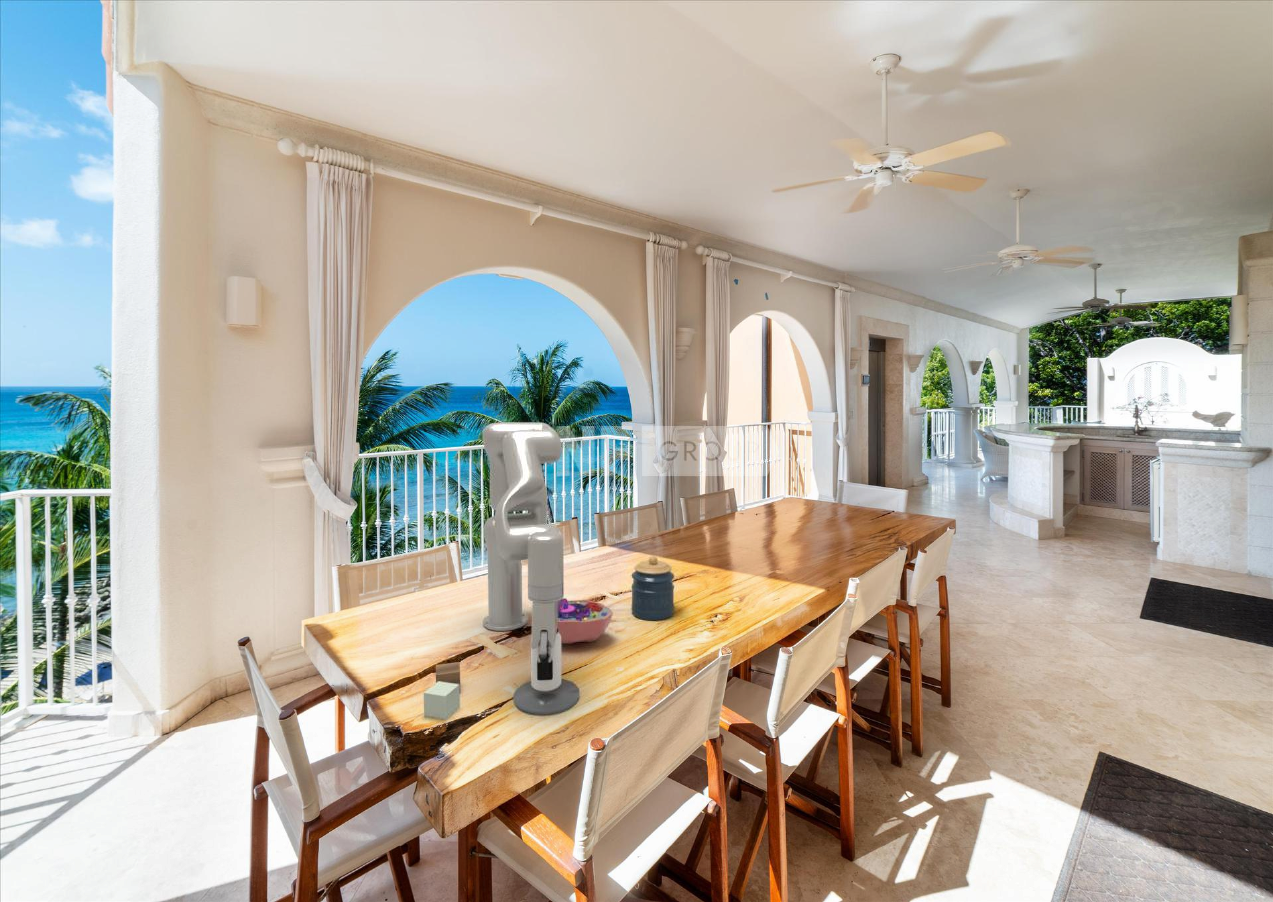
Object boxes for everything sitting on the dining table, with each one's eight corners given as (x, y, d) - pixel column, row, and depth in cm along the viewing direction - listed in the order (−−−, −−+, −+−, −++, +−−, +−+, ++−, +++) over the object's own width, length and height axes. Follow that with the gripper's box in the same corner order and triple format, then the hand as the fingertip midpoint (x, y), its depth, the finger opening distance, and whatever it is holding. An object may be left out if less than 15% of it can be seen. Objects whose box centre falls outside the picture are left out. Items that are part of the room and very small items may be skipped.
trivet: (517, 682, 128) (517, 678, 128) (579, 680, 130) (579, 676, 130) (509, 716, 115) (509, 711, 115) (578, 713, 116) (578, 709, 116)
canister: (626, 608, 176) (626, 552, 175) (665, 603, 180) (665, 549, 179) (638, 623, 164) (639, 563, 162) (680, 618, 168) (681, 560, 166)
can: (562, 677, 125) (562, 624, 124) (559, 692, 119) (559, 637, 118) (533, 677, 125) (533, 625, 124) (528, 692, 119) (528, 637, 118)
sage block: (439, 703, 119) (438, 681, 119) (459, 707, 118) (459, 684, 118) (424, 716, 115) (423, 692, 114) (445, 720, 113) (445, 696, 113)
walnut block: (436, 686, 127) (435, 664, 126) (459, 683, 128) (459, 661, 128) (436, 697, 122) (435, 675, 122) (460, 693, 124) (460, 671, 123)
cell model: (603, 657, 142) (603, 613, 141) (528, 650, 146) (527, 607, 145) (619, 631, 158) (619, 591, 157) (551, 625, 162) (550, 586, 161)
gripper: (532, 577, 129) (532, 654, 130) (523, 605, 111) (524, 692, 113) (565, 577, 129) (565, 653, 131) (561, 604, 112) (561, 691, 114)
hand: (546, 670), depth 122 cm, fingers closed on can, 6 cm apart
